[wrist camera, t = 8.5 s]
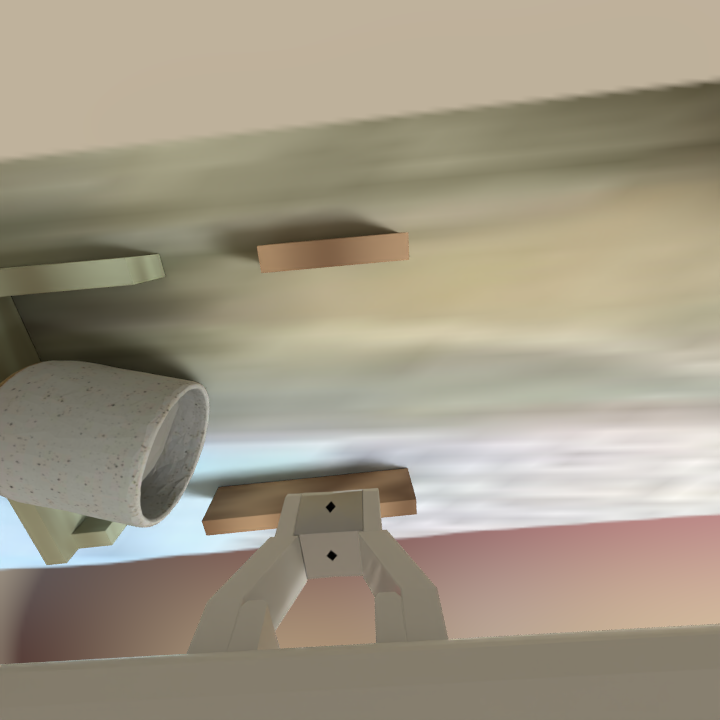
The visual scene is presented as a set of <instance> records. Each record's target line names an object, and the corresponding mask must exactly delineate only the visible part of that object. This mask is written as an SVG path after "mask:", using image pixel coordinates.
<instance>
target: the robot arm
mask: <svg viewBox="0 0 720 720" xmlns="http://www.w3.org/2000/svg"><path fill="white" fill-rule="evenodd" d="M335 576H336V577H339V576H363V578H364V580H365V581H366V583H367V585H368V586H369V588H370V590H371V591H372V593H373V595H374V596H375V624H376V643H374V644H357V645H340V646H322V647H304V648H286V649H280V648H279V644H278V641H277V637H276V633H275V630H276V629H277V627H278V626H279V624H280V622H281V621H282V620H283V618H284V617H285V615H286V613H287V612H288V610H289V609H290V607H291V606H292V604H293V602H294V601H295V599H296V598H297V596H298V595H299V593H300V592H301V590H302V588H303V587H304V586H305V584H306V582H307V579H315V578H325V577H335ZM0 720H720V624H708V625H691V626H673V627H657V628H637V629H621V630H602V631H584V632H567V633H550V634H531V635H514V636H498V637H497V636H496V637H478V638H462V639H461V638H460V639H448V636H447V631H446V627H445V622H444V617H443V613H442V608H441V604H440V600H439V595H438V590H437V587H436V586H435V585H434V584H433V583H432V582H431V581H430V579H428V577H427V576H426V575H425V574H424V573H423V571H422V570H421V569H420V568H419V567H418V566H417V564H416V563H415V562H414V561H413V560H412V559H411V557H410V556H409V555H408V554H407V553H406V552H405V550H404V549H403V548H402V547H401V546H400V545H399V544H398V542H397V541H396V540H395V539H394V538H393V537H392V535H391V534H390V533H389V532H388V531H387V530H382V523H381V511H380V499H379V489H378V488H371V489H360V490H347V491H334V492H314V493H300V494H287V496H286V497H285V500H284V504H283V508H282V512H281V515H280V519H279V523H278V527H277V531H276V534H275V537H270V538H269V539H268V540H267V541H266V542H265V543H264V544H263V545H262V546H261V547H260V548H259V549H258V550H257V551H256V552H255V553H254V554H253V555H252V556H251V558H249V559H248V560H247V562H246V563H245V564H244V565H243V566H242V567H241V568H240V569H239V570H238V571H237V572H236V573H235V574H234V575H233V576H232V577H231V578H230V579H229V580H228V581H227V582H226V583H225V584H224V585H223V586H222V587H221V588H220V589H219V590H218V591H217V592H216V593H215V594H214V595H213V596H212V597H211V598H210V599H209V600H208V602H207V604H206V607H205V609H204V612H203V614H202V617H201V619H200V622H199V624H198V627H197V629H196V632H195V634H194V637H193V639H192V642H191V644H190V647H189V649H188V652H187V654H181V655H180V654H179V655H161V656H143V657H127V658H108V659H91V660H73V661H56V662H37V663H19V664H2V665H0Z"/></svg>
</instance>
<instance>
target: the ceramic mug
mask: <svg viewBox="0 0 720 720" xmlns="http://www.w3.org/2000/svg"><path fill="white" fill-rule="evenodd" d="M209 407H210V405H209V396H208V393H207V391H206V388H205V387H204V386H203V385H202V384H200V383H198V382H195V381H189V380H184V379H178V378H172V377H166V376H161V375H155V374H150V373H145V372H139V371H133V370H127V369H121V368H115V367H111V366H106V365H101V364H97V363H90V362H82V361H59V360H54V361H44V362H39V363H35V364H32V365H30V366H27V367H25V368H23V369H21V370H19V371H17V372H15V373H13V374H12V375H10V376H9V377H8V378H6V379H5V380H4V381H2V382H1V383H0V495H1V496H3V497H6V498H8V499H11V500H14V501H17V502H21V503H26V504H31V505H36V506H41V507H47V508H53V509H59V510H64V511H69V512H73V513H77V514H81V515H86V516H90V517H94V518H99V519H103V520H108V521H112V522H117V523H121V524H126V525H131V526H136V527H151V526H154V525H156V524H158V523H159V522H160V521H162V520H163V519H164V518H165V517H166V516H167V515H168V514H169V513H170V512H171V510H172V509H173V508H174V507H175V506H176V504H177V503H178V501H179V500H180V498H181V496H182V495H183V493H184V491H185V489H186V487H187V485H188V483H189V481H190V479H191V477H192V475H193V473H194V470H195V468H196V465H197V463H198V460H199V457H200V454H201V451H202V448H203V445H204V442H205V438H206V431H207V426H208V422H209Z"/></svg>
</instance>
